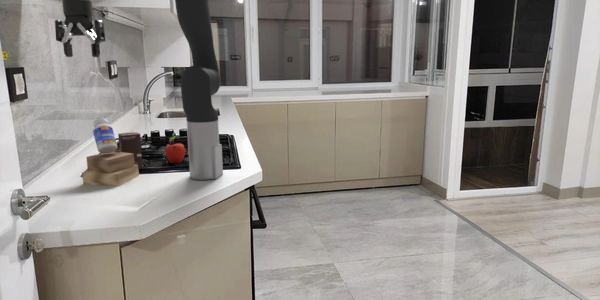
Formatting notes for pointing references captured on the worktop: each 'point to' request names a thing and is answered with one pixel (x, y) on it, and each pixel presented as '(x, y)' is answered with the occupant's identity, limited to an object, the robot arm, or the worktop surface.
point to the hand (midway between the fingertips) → (82, 56)
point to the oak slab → (110, 177)
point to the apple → (175, 152)
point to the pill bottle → (104, 136)
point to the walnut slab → (110, 162)
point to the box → (131, 146)
